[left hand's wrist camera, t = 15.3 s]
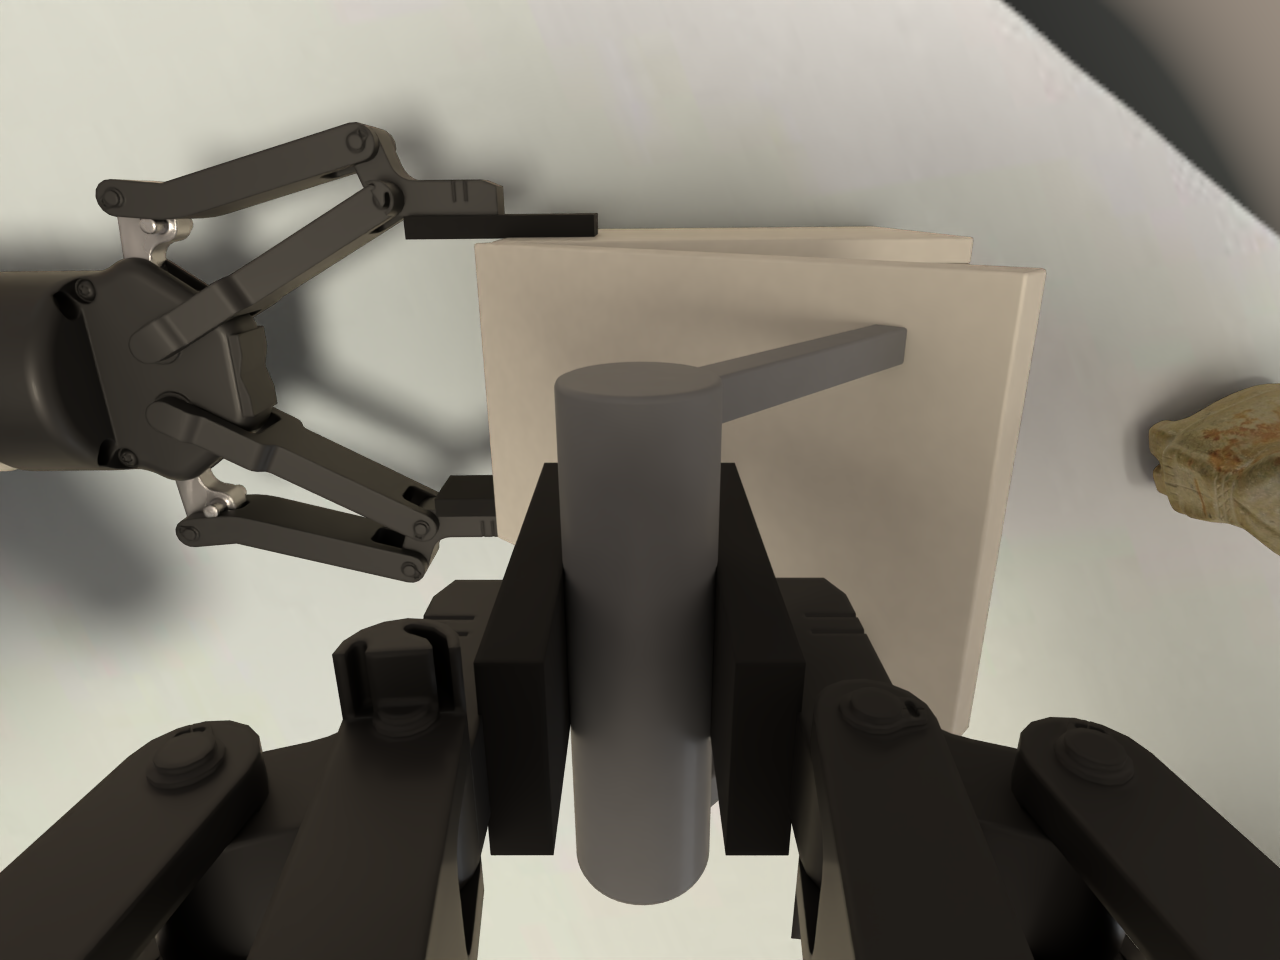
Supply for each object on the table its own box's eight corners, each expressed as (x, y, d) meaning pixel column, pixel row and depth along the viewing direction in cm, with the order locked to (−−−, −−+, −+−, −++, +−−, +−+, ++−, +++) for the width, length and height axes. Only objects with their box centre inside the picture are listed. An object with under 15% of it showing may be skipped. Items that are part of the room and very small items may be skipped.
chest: (873, 226, 34) (974, 237, 24) (854, 434, 37) (935, 522, 27) (535, 229, 34) (490, 241, 24) (546, 437, 37) (511, 526, 27)
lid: (1048, 267, 13) (733, 332, 7) (969, 728, 16) (708, 1039, 10) (501, 241, 23) (180, 258, 17) (520, 528, 27) (258, 626, 21)
